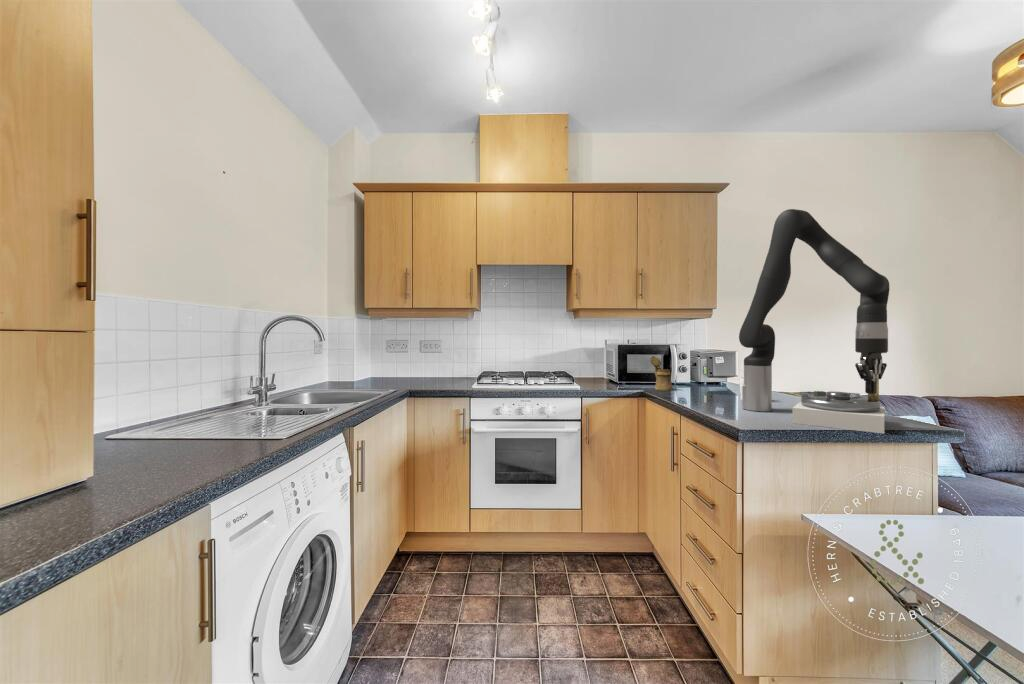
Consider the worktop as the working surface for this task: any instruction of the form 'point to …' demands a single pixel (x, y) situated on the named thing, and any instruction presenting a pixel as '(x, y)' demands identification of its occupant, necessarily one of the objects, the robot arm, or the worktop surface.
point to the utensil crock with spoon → (661, 376)
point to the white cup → (741, 385)
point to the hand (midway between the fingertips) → (870, 393)
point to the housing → (840, 418)
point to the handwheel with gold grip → (842, 401)
